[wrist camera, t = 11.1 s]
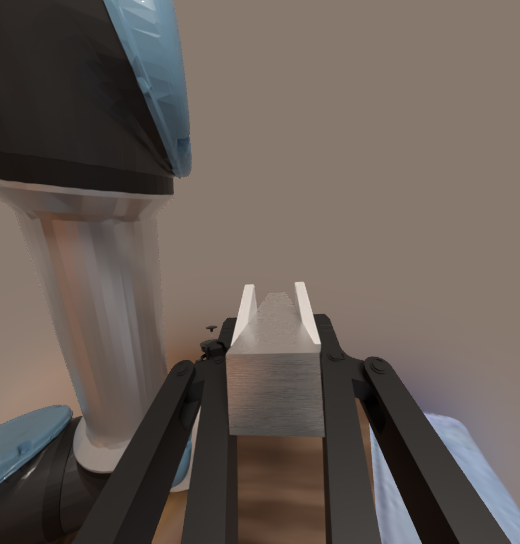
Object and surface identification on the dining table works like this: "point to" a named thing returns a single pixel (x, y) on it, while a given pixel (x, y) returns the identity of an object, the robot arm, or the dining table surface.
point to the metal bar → (275, 375)
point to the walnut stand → (285, 487)
